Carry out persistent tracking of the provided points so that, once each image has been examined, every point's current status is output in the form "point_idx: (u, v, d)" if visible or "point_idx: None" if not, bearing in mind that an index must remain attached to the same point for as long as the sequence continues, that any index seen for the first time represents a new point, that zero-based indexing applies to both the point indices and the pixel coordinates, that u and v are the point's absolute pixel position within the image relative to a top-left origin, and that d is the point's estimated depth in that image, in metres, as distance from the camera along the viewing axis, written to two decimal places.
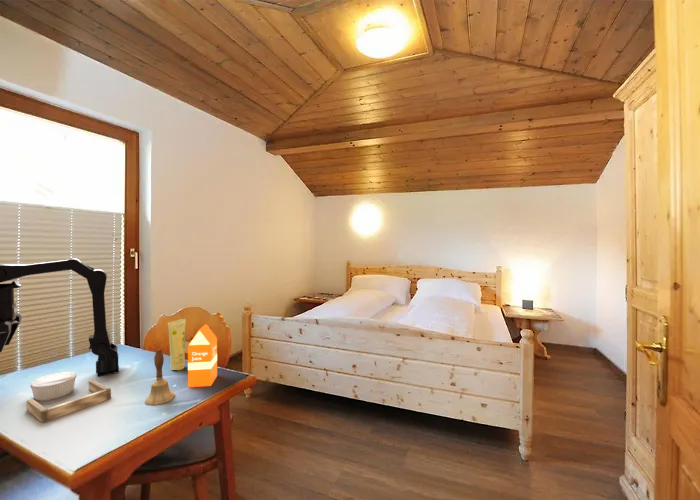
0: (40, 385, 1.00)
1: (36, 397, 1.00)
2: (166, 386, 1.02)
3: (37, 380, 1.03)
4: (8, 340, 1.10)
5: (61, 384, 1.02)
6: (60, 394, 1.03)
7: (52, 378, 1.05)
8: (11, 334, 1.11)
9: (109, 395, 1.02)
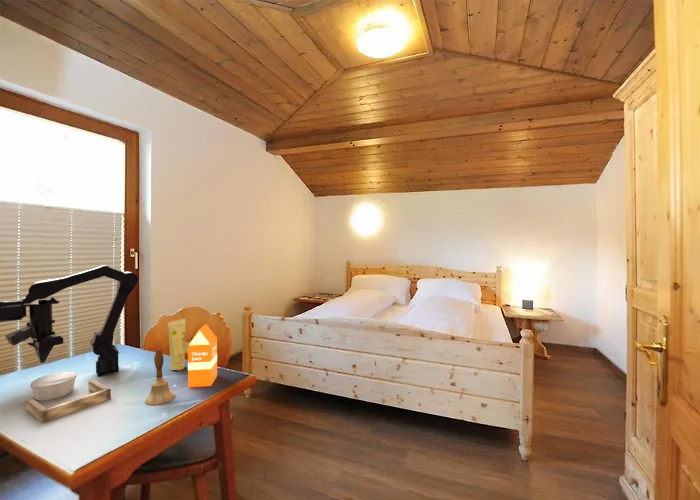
0: (40, 385, 1.00)
1: (36, 397, 1.00)
2: (166, 386, 1.02)
3: (37, 380, 1.03)
4: None
5: (61, 384, 1.02)
6: (60, 394, 1.03)
7: (52, 378, 1.05)
8: None
9: (109, 395, 1.02)
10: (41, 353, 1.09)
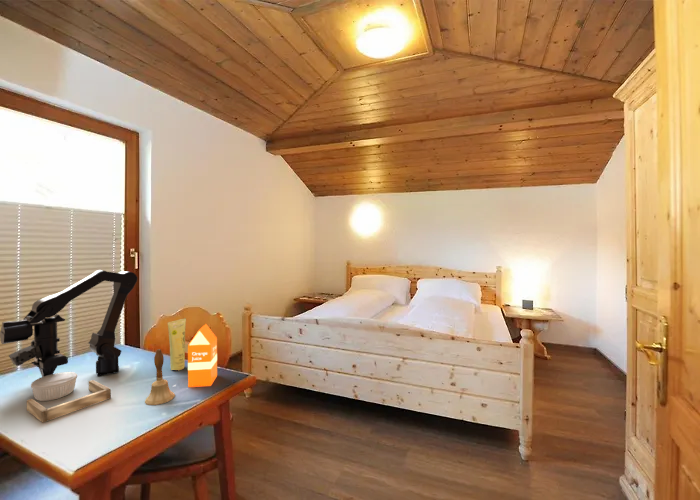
0: (41, 385, 1.00)
1: (37, 397, 1.00)
2: (166, 386, 1.02)
3: (38, 381, 1.03)
4: None
5: (62, 384, 1.02)
6: (61, 394, 1.02)
7: (52, 378, 1.05)
8: None
9: (109, 395, 1.02)
10: (45, 372, 1.07)
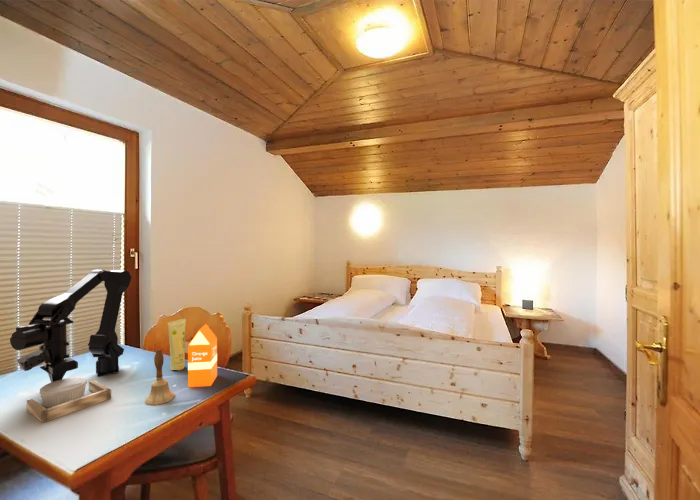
0: (49, 391, 0.96)
1: (45, 404, 0.96)
2: (166, 386, 1.02)
3: (47, 386, 0.99)
4: None
5: (71, 390, 0.98)
6: None
7: (61, 384, 1.00)
8: None
9: (109, 395, 1.02)
10: (54, 378, 1.03)
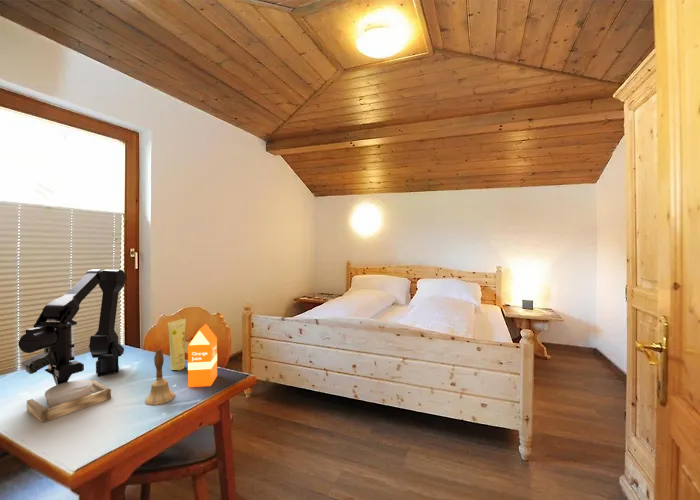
0: (55, 395, 0.94)
1: None
2: (166, 386, 1.02)
3: (52, 389, 0.97)
4: None
5: (77, 394, 0.96)
6: None
7: (67, 387, 0.98)
8: None
9: (109, 395, 1.02)
10: (60, 380, 1.01)
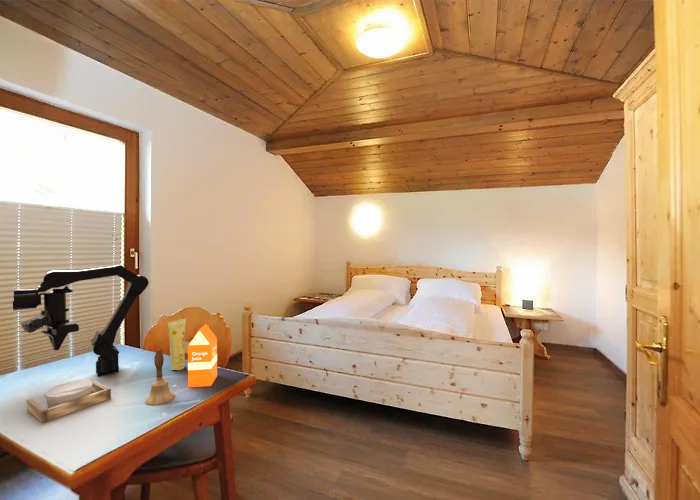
0: (55, 395, 0.94)
1: None
2: (166, 386, 1.02)
3: (52, 390, 0.97)
4: None
5: (77, 394, 0.96)
6: None
7: (67, 387, 0.98)
8: None
9: (109, 395, 1.02)
10: (56, 341, 1.11)
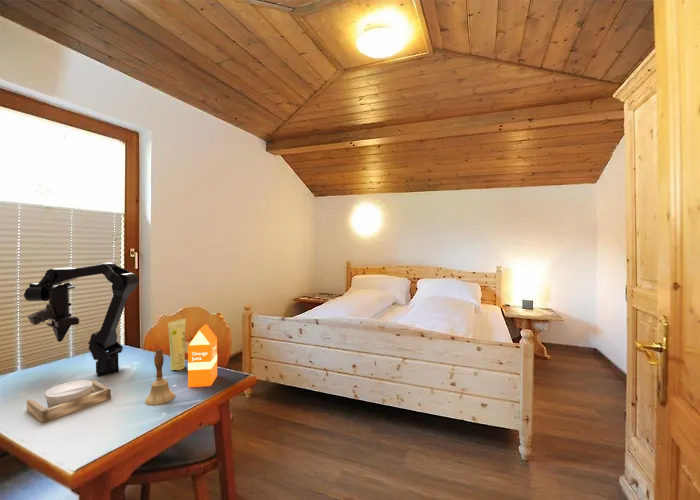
0: (55, 395, 0.94)
1: None
2: (166, 386, 1.02)
3: (52, 390, 0.97)
4: None
5: (77, 394, 0.96)
6: None
7: (67, 387, 0.98)
8: None
9: (109, 395, 1.02)
10: (59, 333, 1.21)
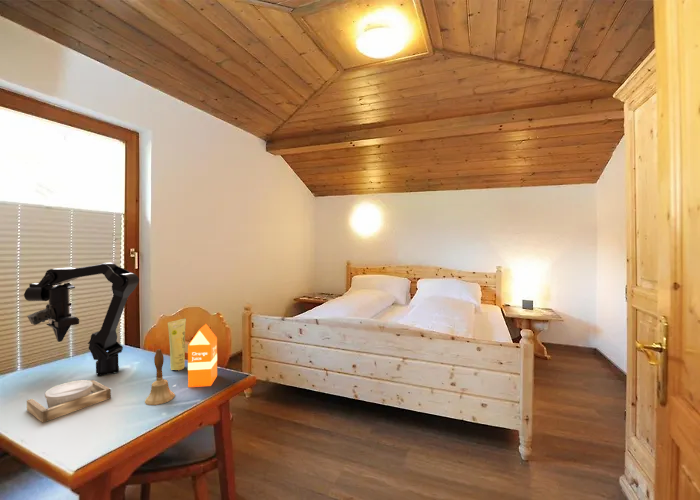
0: (55, 395, 0.94)
1: None
2: (166, 386, 1.02)
3: (52, 390, 0.97)
4: None
5: (77, 394, 0.96)
6: None
7: (67, 387, 0.98)
8: None
9: (109, 395, 1.02)
10: (59, 333, 1.21)
